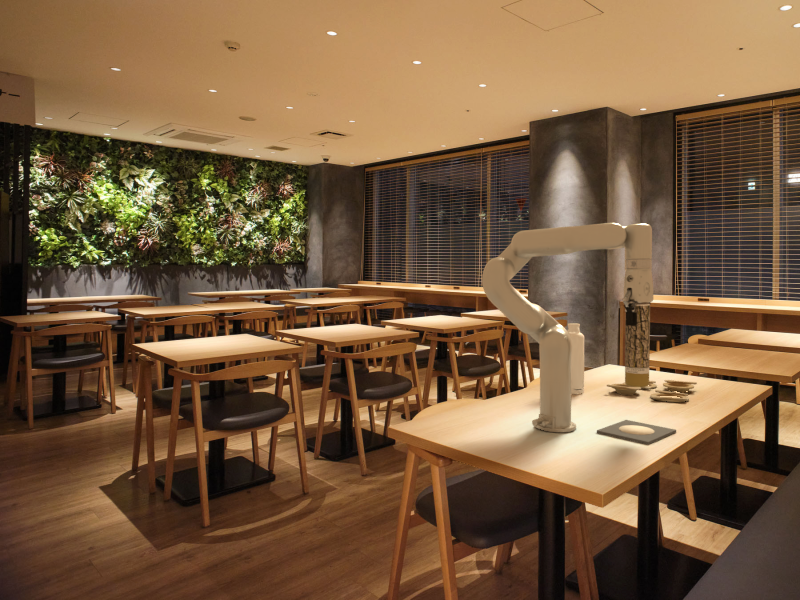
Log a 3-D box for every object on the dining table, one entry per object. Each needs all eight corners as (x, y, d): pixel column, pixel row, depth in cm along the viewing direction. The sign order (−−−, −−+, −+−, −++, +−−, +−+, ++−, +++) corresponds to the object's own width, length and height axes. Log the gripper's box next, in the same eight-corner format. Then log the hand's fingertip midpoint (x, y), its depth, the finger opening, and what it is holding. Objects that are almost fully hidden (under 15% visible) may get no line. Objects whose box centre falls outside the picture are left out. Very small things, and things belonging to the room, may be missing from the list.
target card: (648, 444, 160) (648, 441, 160) (596, 432, 172) (596, 430, 172) (676, 432, 172) (676, 429, 172) (626, 422, 184) (626, 419, 184)
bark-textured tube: (651, 388, 167) (652, 304, 166) (627, 387, 168) (628, 304, 167) (646, 383, 174) (647, 302, 173) (622, 383, 175) (623, 302, 174)
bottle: (581, 395, 224) (581, 325, 223) (560, 392, 229) (561, 324, 227) (586, 391, 231) (586, 323, 230) (566, 389, 236) (566, 322, 234)
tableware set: (684, 406, 205) (684, 395, 205) (603, 396, 223) (603, 386, 223) (701, 389, 233) (701, 380, 233) (627, 382, 251) (627, 373, 251)
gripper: (636, 265, 161) (635, 327, 162) (663, 265, 172) (662, 323, 173) (611, 265, 167) (611, 325, 167) (639, 265, 178) (639, 321, 179)
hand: (637, 324), depth 170 cm, fingers closed on bark-textured tube, 6 cm apart
